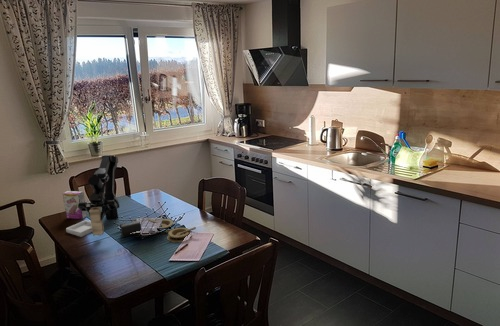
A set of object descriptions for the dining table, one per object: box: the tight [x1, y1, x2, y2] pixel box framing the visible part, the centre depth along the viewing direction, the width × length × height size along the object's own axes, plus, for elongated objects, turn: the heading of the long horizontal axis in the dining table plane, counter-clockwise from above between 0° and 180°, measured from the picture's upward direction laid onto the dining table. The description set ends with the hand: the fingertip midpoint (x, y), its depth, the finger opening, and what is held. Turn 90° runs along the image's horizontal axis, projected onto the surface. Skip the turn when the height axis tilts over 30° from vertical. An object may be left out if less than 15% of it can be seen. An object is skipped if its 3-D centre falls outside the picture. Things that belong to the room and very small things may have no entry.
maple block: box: [88, 207, 105, 236], centre depth 198 cm, size 4×4×14 cm
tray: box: [65, 219, 93, 238], centre depth 212 cm, size 13×13×2 cm
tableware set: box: [147, 218, 197, 244], centre depth 206 cm, size 30×20×6 cm, turn 44°
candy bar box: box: [62, 190, 88, 220], centre depth 229 cm, size 11×5×16 cm, turn 80°
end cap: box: [119, 220, 142, 238], centre depth 204 cm, size 10×7×7 cm
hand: (96, 220), depth 197 cm, fingers closed on maple block, 4 cm apart
